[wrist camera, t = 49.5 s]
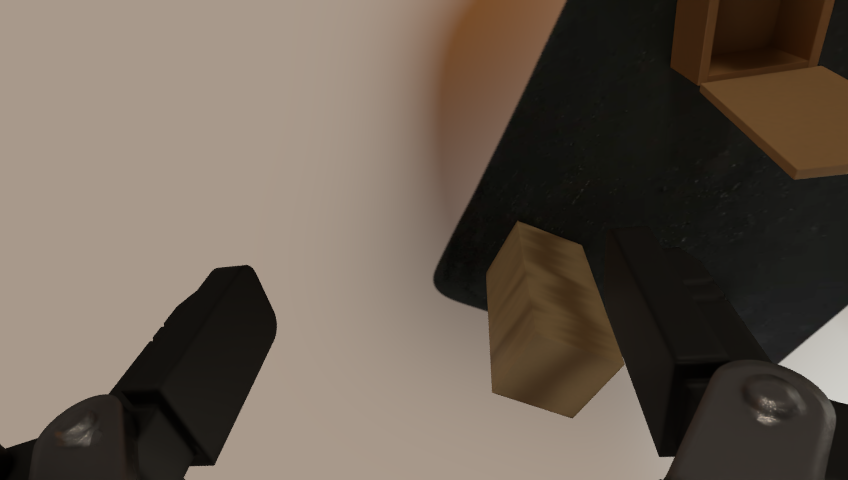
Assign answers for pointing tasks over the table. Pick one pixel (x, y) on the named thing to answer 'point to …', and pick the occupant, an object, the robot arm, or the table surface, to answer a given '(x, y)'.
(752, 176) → the table surface
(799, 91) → the case lid
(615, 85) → the table surface
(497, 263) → the post
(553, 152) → the table surface
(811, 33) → the case
